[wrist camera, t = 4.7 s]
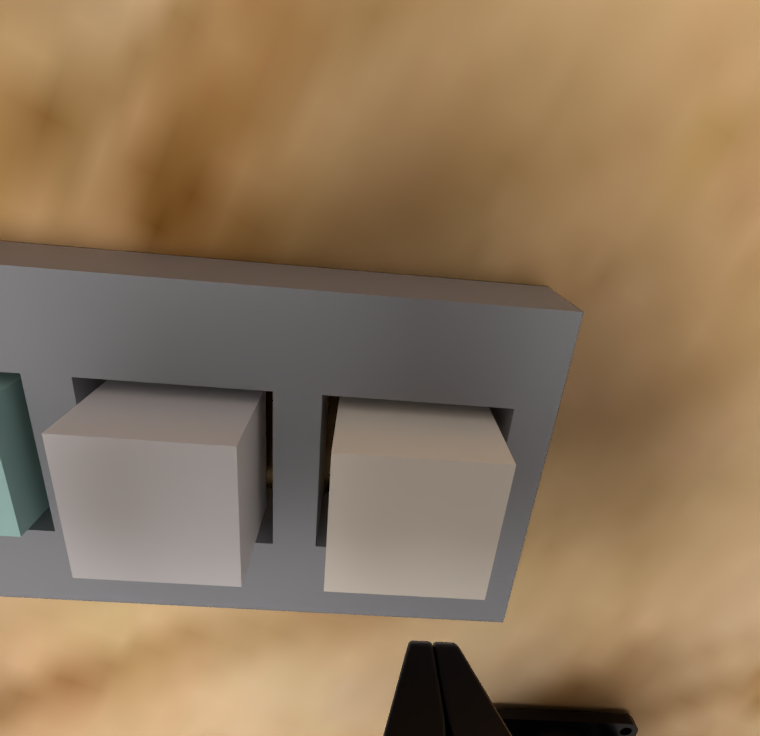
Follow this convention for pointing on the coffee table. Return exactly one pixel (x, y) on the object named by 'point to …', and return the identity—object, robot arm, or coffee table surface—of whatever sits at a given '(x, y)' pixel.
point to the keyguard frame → (279, 393)
